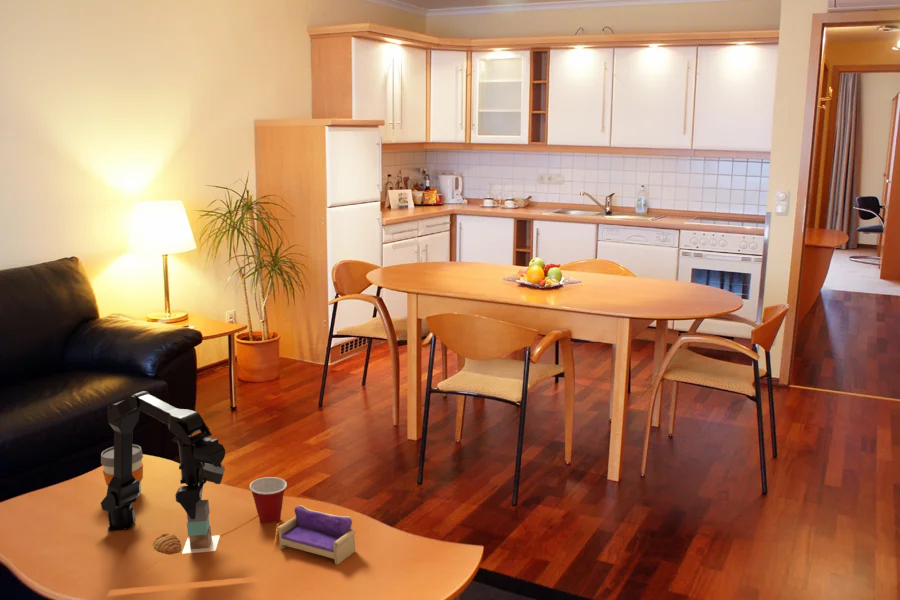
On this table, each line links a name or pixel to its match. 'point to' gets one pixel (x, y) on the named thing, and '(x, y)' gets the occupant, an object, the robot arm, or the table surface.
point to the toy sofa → (318, 534)
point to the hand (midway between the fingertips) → (196, 511)
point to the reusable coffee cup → (108, 464)
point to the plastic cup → (268, 497)
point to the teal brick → (198, 527)
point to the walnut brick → (201, 540)
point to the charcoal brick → (201, 511)
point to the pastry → (167, 544)
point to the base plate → (212, 548)
